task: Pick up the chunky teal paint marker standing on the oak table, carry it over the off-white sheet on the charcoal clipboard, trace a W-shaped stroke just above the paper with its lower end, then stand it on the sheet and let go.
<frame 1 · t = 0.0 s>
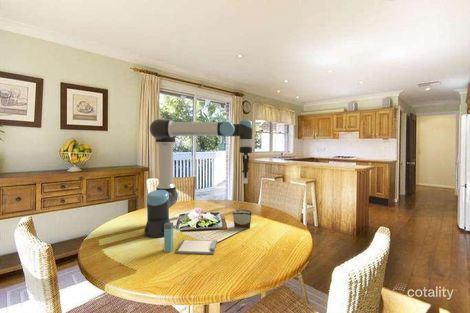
hand: (245, 181, 145), 28 cm above the table, fingers open, 13 cm apart
food container: (242, 226, 147), on the table
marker: (168, 250, 114), on the table
clipboard: (197, 247, 118), on the table
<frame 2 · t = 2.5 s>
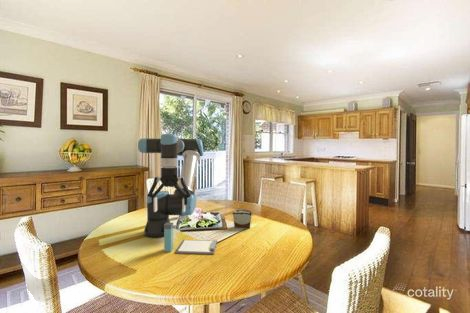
hand: (169, 211, 113), 19 cm above the table, fingers open, 13 cm apart
nothing on the table moved.
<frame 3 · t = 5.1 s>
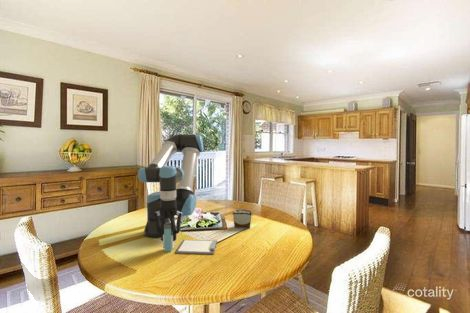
hand: (168, 246, 114), 2 cm above the table, fingers closed on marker, 3 cm apart
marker: (168, 250, 114), on the table, touching gripper
everything else where it was.
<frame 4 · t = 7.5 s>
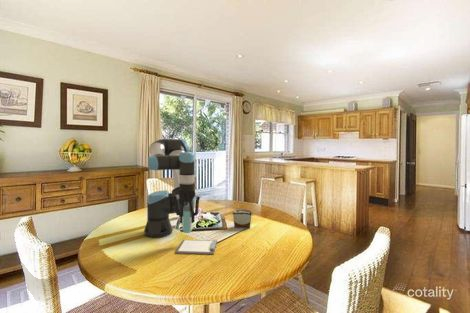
hand: (187, 228, 121), 8 cm above the table, fingers closed on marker, 3 cm apart
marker: (187, 231, 121), point 6 cm above the table, touching gripper
everything else where it was.
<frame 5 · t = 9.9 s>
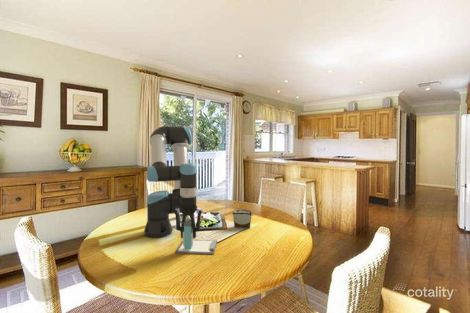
hand: (188, 244, 114), 3 cm above the table, fingers closed on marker, 3 cm apart
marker: (188, 247, 114), point 1 cm above the table, touching gripper
everything else where it was.
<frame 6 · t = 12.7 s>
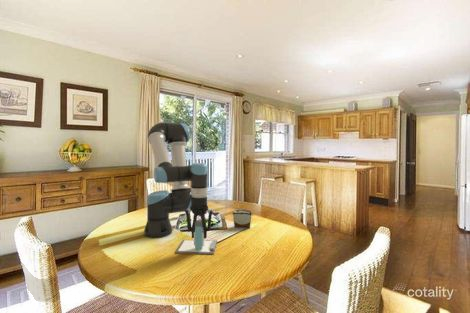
hand: (199, 244, 114), 3 cm above the table, fingers closed on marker, 3 cm apart
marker: (199, 247, 114), point 1 cm above the table, touching gripper
everything else where it was.
when the fingers open (3 cm above the table, at t = 15.2 s): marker stays where it is, resting on clipboard.
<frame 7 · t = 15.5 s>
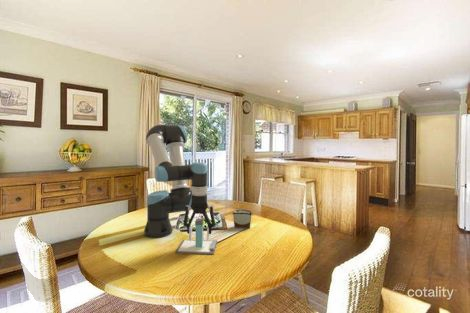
hand: (199, 239, 117), 4 cm above the table, fingers open, 8 cm apart
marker: (199, 245, 117), point 1 cm above the table, touching clipboard
everything else where it was.
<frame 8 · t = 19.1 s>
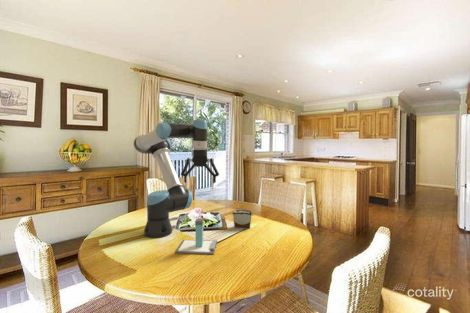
hand: (200, 188, 128), 27 cm above the table, fingers open, 13 cm apart
nothing on the table moved.
at the end: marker inside the target area on the clipboard (1.8 cm from its centre), point 0.8 cm above the clipboard's base; the gripper is holding nothing; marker moved 14.6 cm from its start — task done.
